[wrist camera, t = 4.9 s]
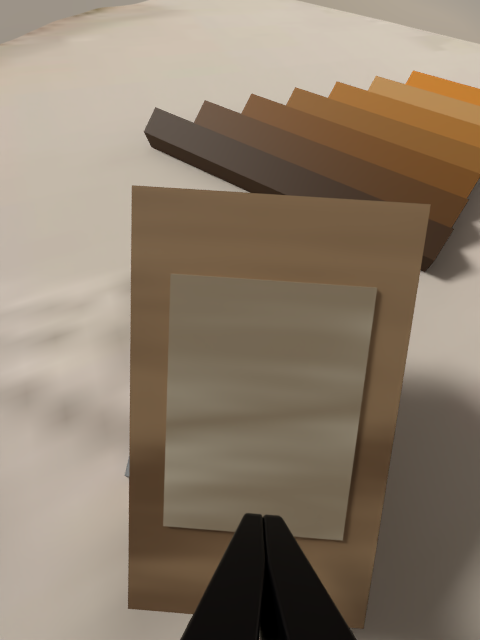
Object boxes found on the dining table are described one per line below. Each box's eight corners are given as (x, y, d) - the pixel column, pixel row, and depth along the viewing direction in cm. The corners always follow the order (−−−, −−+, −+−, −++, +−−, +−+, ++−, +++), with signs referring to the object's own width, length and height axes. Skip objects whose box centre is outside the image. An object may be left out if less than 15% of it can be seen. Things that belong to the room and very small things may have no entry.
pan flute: (149, 155, 30) (418, 281, 23) (140, 115, 27) (445, 245, 20) (288, 65, 41) (498, 129, 34) (293, 30, 39) (523, 92, 31)
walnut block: (364, 632, 10) (433, 203, 8) (127, 611, 10) (130, 184, 8) (325, 506, 15) (360, 227, 13) (168, 493, 15) (177, 215, 13)
